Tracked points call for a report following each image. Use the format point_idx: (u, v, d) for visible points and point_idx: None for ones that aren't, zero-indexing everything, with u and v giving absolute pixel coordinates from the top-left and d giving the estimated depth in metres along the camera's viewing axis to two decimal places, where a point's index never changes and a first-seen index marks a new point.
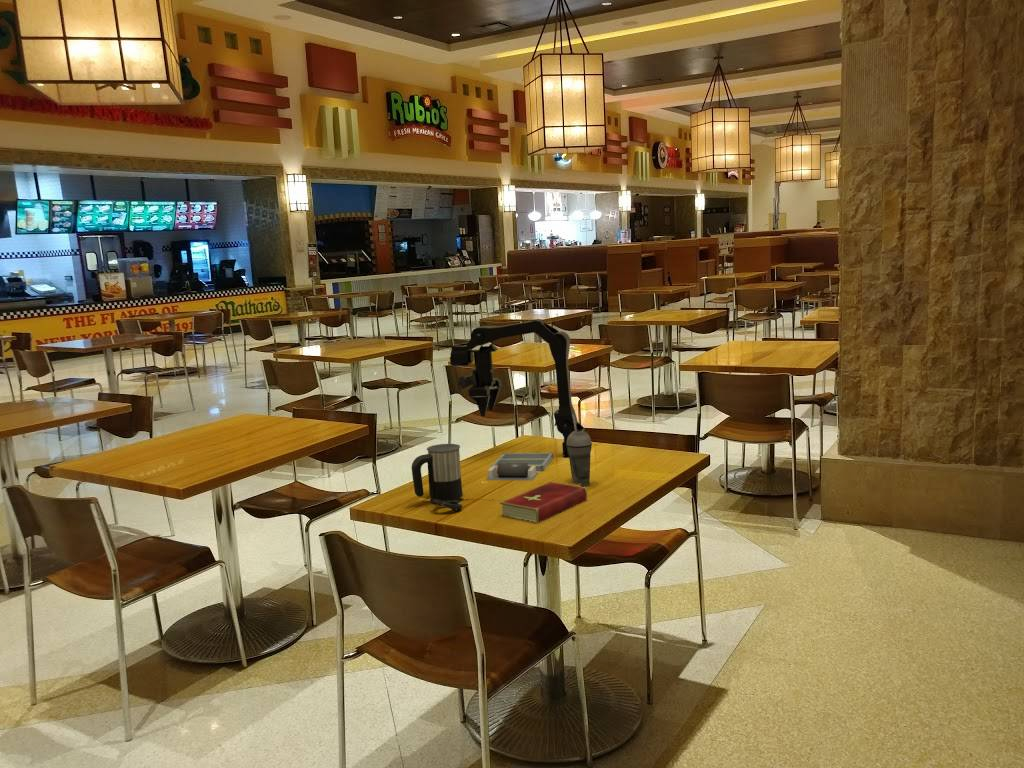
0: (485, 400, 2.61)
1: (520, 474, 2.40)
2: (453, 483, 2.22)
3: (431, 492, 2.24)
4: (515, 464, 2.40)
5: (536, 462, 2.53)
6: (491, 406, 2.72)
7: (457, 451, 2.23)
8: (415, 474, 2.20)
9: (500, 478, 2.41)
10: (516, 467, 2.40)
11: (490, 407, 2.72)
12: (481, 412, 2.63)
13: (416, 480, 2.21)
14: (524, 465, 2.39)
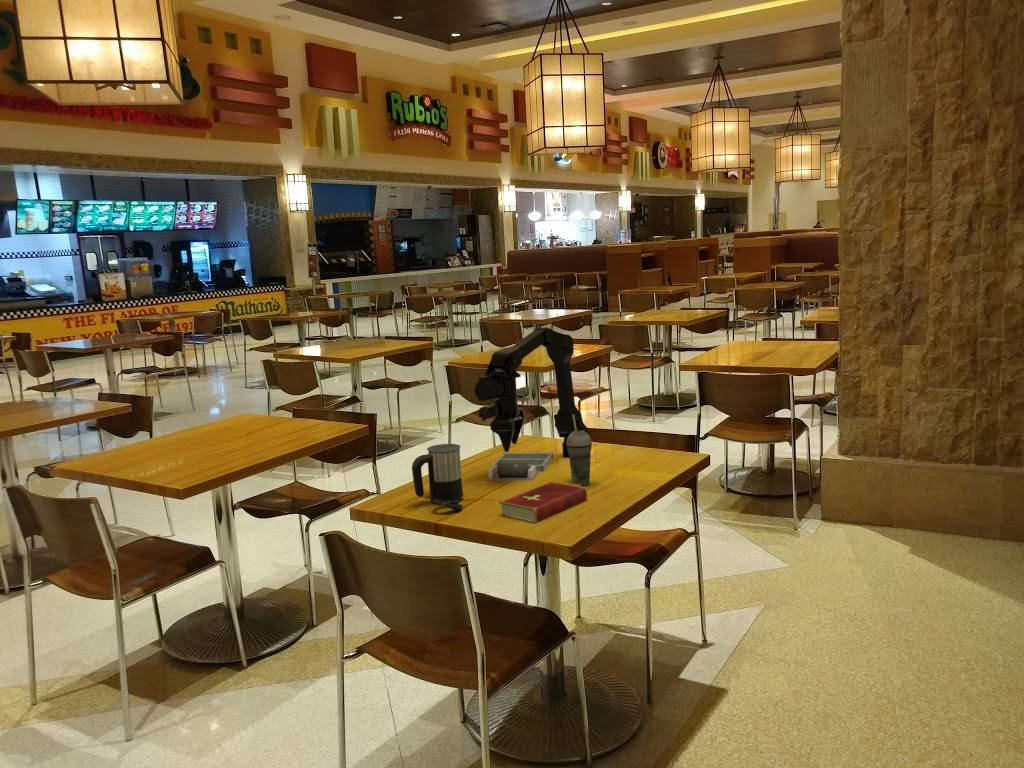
0: (509, 434, 2.33)
1: (520, 474, 2.40)
2: (453, 483, 2.22)
3: (431, 492, 2.24)
4: (515, 464, 2.40)
5: (536, 462, 2.53)
6: (514, 439, 2.45)
7: (457, 451, 2.23)
8: (415, 474, 2.20)
9: (500, 478, 2.41)
10: (516, 467, 2.40)
11: (513, 440, 2.45)
12: (504, 447, 2.36)
13: (416, 480, 2.20)
14: (524, 465, 2.39)
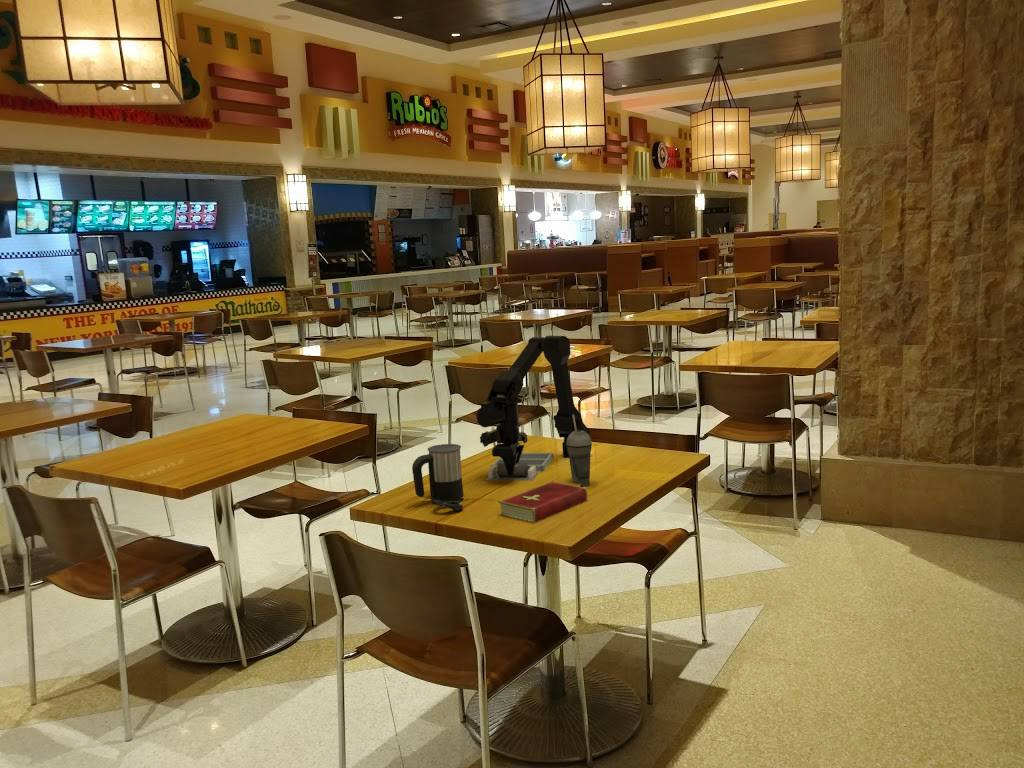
0: (512, 458, 2.37)
1: (520, 474, 2.40)
2: (454, 483, 2.22)
3: (432, 492, 2.23)
4: (515, 464, 2.40)
5: (536, 462, 2.53)
6: None
7: (458, 451, 2.23)
8: (416, 474, 2.20)
9: (500, 478, 2.41)
10: (516, 466, 2.40)
11: None
12: (508, 470, 2.39)
13: (417, 480, 2.20)
14: (524, 465, 2.39)
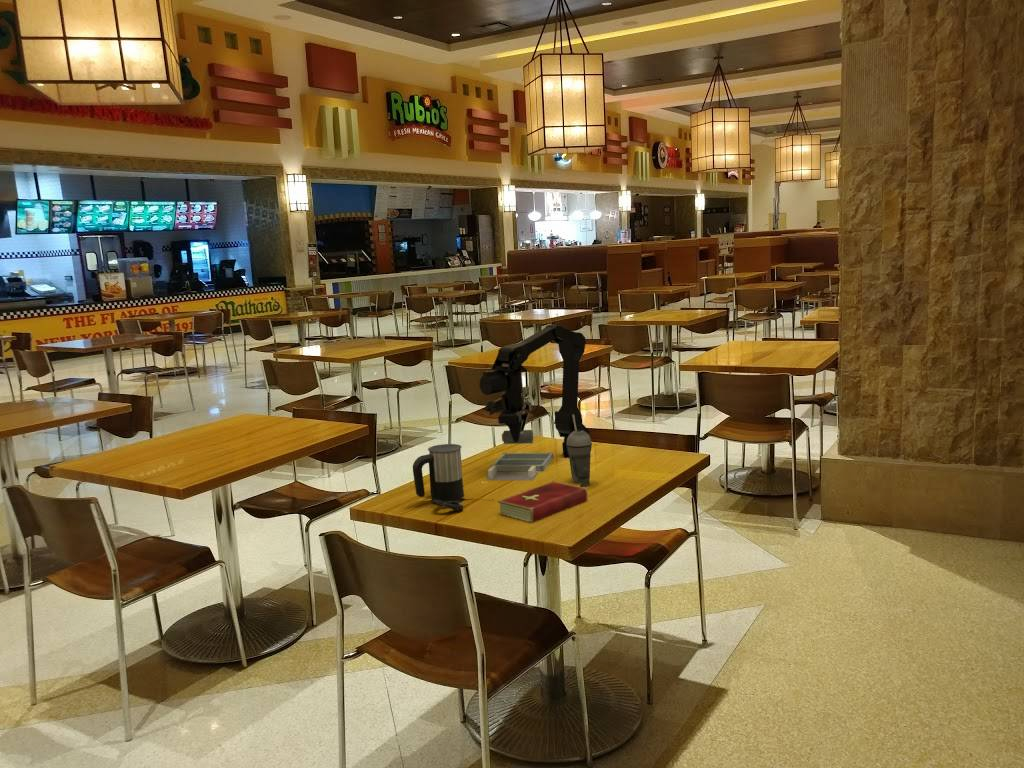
0: (518, 425, 2.43)
1: (525, 441, 2.45)
2: (454, 484, 2.22)
3: (432, 492, 2.23)
4: None
5: (536, 462, 2.53)
6: None
7: (458, 451, 2.22)
8: (416, 474, 2.20)
9: (500, 478, 2.41)
10: (521, 434, 2.46)
11: None
12: (514, 438, 2.45)
13: (417, 480, 2.20)
14: (529, 432, 2.45)
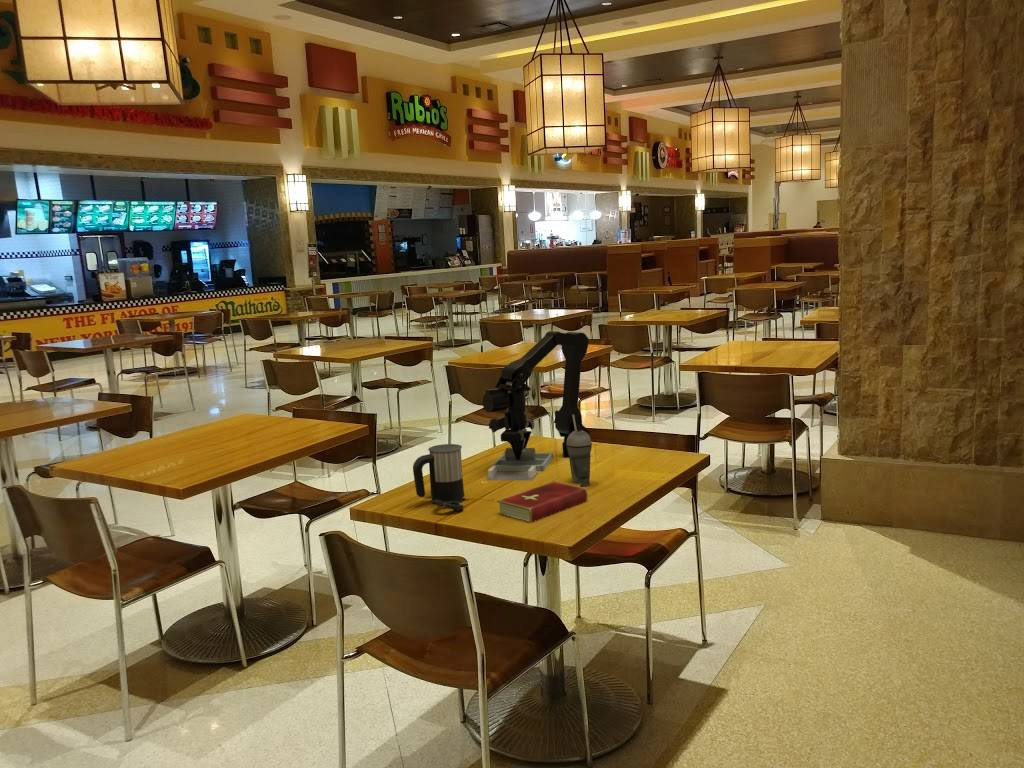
0: (520, 443, 2.46)
1: (527, 459, 2.49)
2: (454, 484, 2.22)
3: (432, 492, 2.23)
4: None
5: (536, 462, 2.53)
6: None
7: (459, 451, 2.22)
8: (416, 474, 2.20)
9: (500, 478, 2.41)
10: (523, 451, 2.49)
11: None
12: (516, 455, 2.48)
13: (417, 480, 2.20)
14: (531, 450, 2.48)
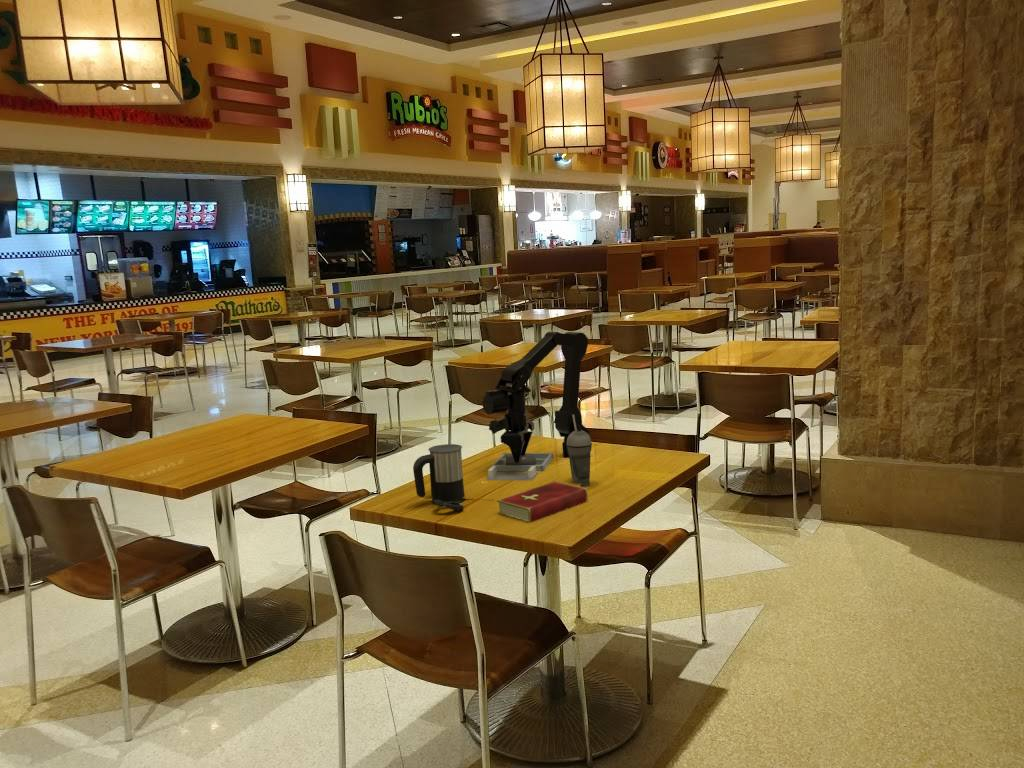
0: (519, 445, 2.44)
1: None
2: (455, 484, 2.22)
3: (433, 493, 2.23)
4: (523, 457, 2.50)
5: (536, 462, 2.53)
6: (523, 451, 2.54)
7: (459, 452, 2.22)
8: (417, 474, 2.20)
9: (500, 478, 2.41)
10: (524, 459, 2.49)
11: (522, 452, 2.54)
12: (515, 458, 2.47)
13: (418, 480, 2.20)
14: (532, 458, 2.49)
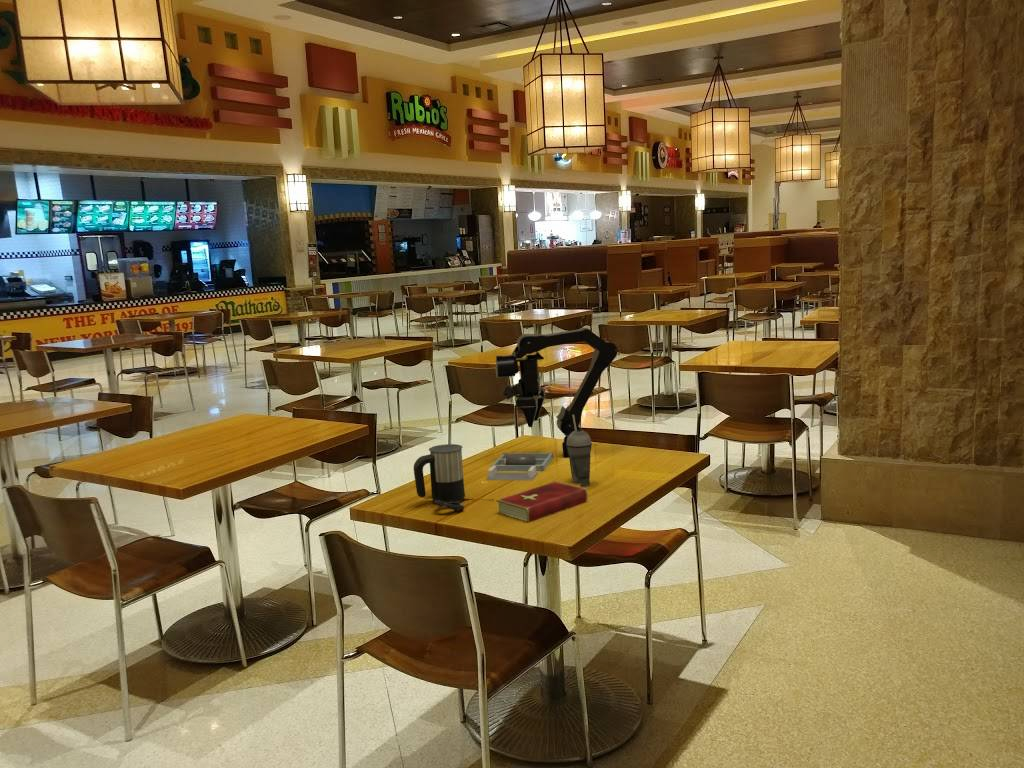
0: (533, 410, 2.53)
1: None
2: (455, 484, 2.22)
3: (433, 493, 2.23)
4: (523, 457, 2.50)
5: (536, 462, 2.53)
6: (536, 416, 2.65)
7: (459, 452, 2.22)
8: (417, 475, 2.20)
9: (500, 478, 2.41)
10: (524, 460, 2.49)
11: (535, 417, 2.65)
12: (528, 423, 2.55)
13: (418, 480, 2.20)
14: (531, 458, 2.49)
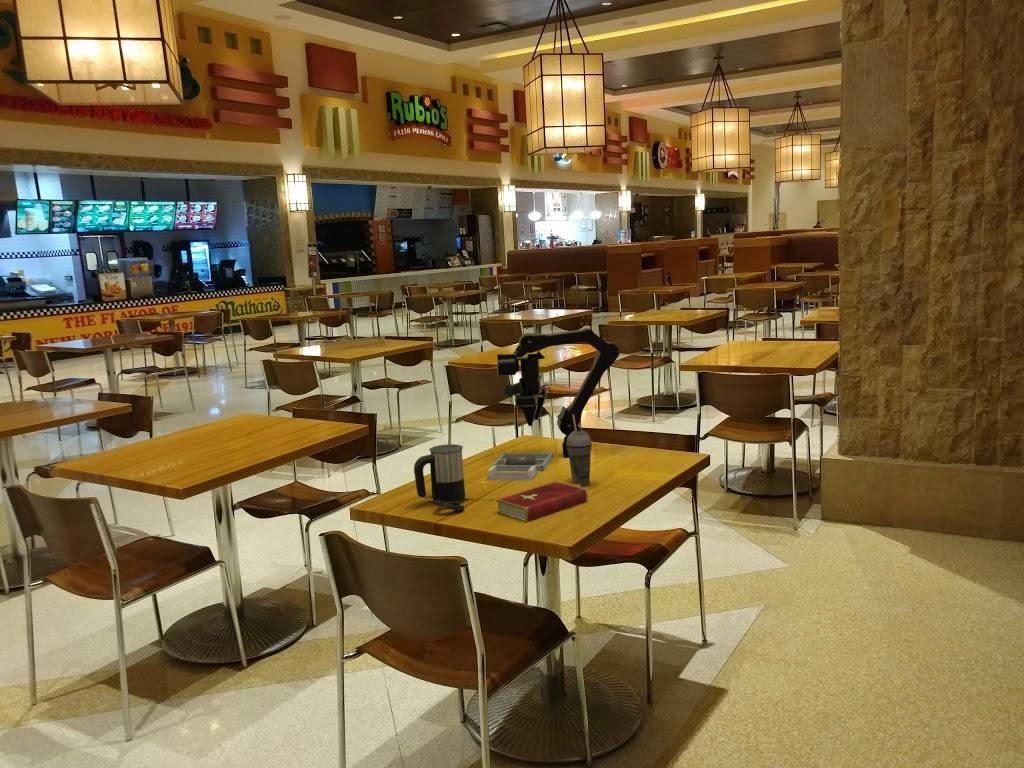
0: (532, 409, 2.54)
1: None
2: (455, 484, 2.21)
3: (433, 493, 2.23)
4: (522, 458, 2.49)
5: (536, 462, 2.53)
6: (537, 415, 2.65)
7: (460, 452, 2.22)
8: (417, 475, 2.20)
9: (500, 478, 2.41)
10: (524, 460, 2.49)
11: (536, 416, 2.65)
12: (528, 421, 2.56)
13: (418, 480, 2.20)
14: (531, 459, 2.48)
